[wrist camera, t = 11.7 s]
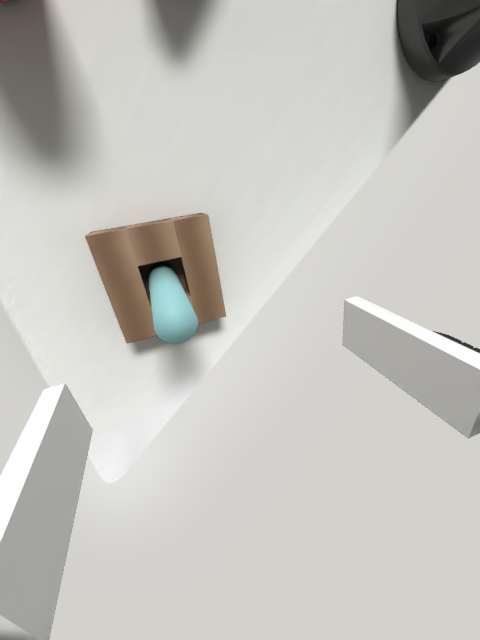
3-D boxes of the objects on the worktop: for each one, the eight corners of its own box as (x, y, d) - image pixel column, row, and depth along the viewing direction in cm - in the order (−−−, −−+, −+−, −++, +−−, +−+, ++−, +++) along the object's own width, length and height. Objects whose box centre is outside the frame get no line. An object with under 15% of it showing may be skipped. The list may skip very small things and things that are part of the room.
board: (201, 212, 31) (208, 214, 28) (218, 306, 36) (226, 316, 33) (90, 232, 28) (84, 236, 25) (127, 330, 33) (126, 343, 30)
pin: (172, 259, 31) (193, 299, 19) (178, 285, 33) (201, 337, 21) (144, 265, 31) (148, 310, 19) (152, 291, 32) (160, 348, 20)
